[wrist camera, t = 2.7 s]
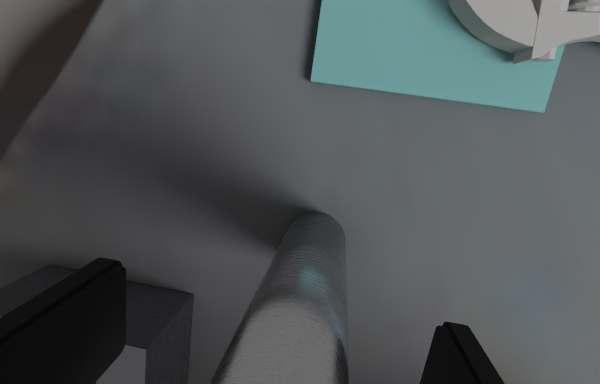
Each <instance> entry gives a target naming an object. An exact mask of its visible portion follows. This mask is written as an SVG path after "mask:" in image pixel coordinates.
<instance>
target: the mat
mask: <svg viewBox="0 0 600 384" xmlns="http://www.w3.org/2000/svg"><path fill="white" fill-rule="evenodd" d="M564 47H565V45H560V46H557V49H556V53H555V58H554V60H553V61H549V62H531V60H529V61H526V62H523V63H518V64H513V58H514V53H509V52H506V51H504V50H501V49H498V48H496V47H494V46H491V45H489V44H487V43H485V42H483V41H482V40H480V39H478V38H477V37H476V36H474V35H473V34H472V33H471V32H470V31H469V30H468V29H467V28H466V27H465V26H464V25H463V24H462V23H461V22H460V20H459V19H458V18H457V16H456V15H455V14H454V12H453V10H452V8H451V6H450V5H449V0H322V3H321V10H320V17H319V24H318V31H317V38H316V45H315V52H314V59H313V66H312V73H311V80H310V81H311V82H312V83H319V84H327V85H334V86H341V87H349V88H356V89H364V90H371V91H378V92H386V93H393V94H401V95H408V96H415V97H423V98H430V99H438V100H445V101H452V102H460V103H467V104H475V105H482V106H489V107H497V108H504V109H511V110H519V111H526V112H534V113H544V111H545V108H546V105H547V102H548V98H549V95H550V92H551V89H552V86H553V82H554V79H555V76H556V73H557V70H558V66H559V63H560V60H561V57H562V54H563V50H564ZM512 64H513V65H512Z"/></svg>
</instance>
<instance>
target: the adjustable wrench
mask: <svg viewBox="0 0 600 384" xmlns="http://www.w3.org/2000/svg"><path fill="white" fill-rule="evenodd" d="M449 5H450V6H451V8H452V10H453V12H454V14H455V15H456V16H457V18H458V19H459V20H460V22H461V23H462V24H463V25H464V26H465V27H466V28H467V29H468V30H469V31H470V32H471V33H472V34H473V35H474V36H476V37H477V38H478V39H480V40H482V41H483V42H485V43H487V44H489V45H491V46H494V47H496V48H498V49H501V50H504V51H506V52H509V53H514V58H513V64H518V63H523V62H526V61H529V60H531V62H549V61H553V60H554V58H555V53H556V49H557V46H560V45H565V44H570V43H575V42H588V41H594V42H600V0H449ZM513 64H512V65H513Z"/></svg>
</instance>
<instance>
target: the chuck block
mask: <svg viewBox="0 0 600 384" xmlns="http://www.w3.org/2000/svg"><path fill="white" fill-rule="evenodd" d="M76 271H77V270H72V269H68V268H63V267H58V266H53V265H48V266H46V267H44V268H42V269H40V270H38V271H35V272H33V273H31V274H29V275H27V276H25V277H23V278H21V279H19V280H17V281H15V282H13V283H11V284H9V285H7V286H5V287H3V288H1V289H0V318H1V317H2V316H4V315H6V314H7V313H9V312H11V311H12V310H14V309H15V308H17V307H19V306H20V305H22V304H24V303H25V302H27V301H29V300H30V299H32V298H33V297H35V296H37V295H38V294H40V293H42V292H43V291H45V290H47V289H48V288H50V287H52V286H53V285H55V284H56V283H58V282H60V281H61V280H63V279H65V278H66V277H68V276H70V275H71V274H73V273H74V272H76ZM192 309H193V294H189V293H184V292H179V291H174V290H169V289H164V288H160V287H155V286H150V285H145V284H140V283H135V282H131V281H126V344H125V347H124V350H123V351H122V353H121V354H120V356H119V357H118V358H117V359H116V360H115V361H114V362H113V363H112V364H111V366H110V367H109V368H108V369H107V370H106V371H105V372H104V373H103V375H102V376H101V377H100V378H99V379H98V380H97V381H96V382H95V384H187V380H188V366H189V352H190V338H191V323H192Z"/></svg>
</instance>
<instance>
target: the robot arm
mask: <svg viewBox="0 0 600 384" xmlns="http://www.w3.org/2000/svg"><path fill="white" fill-rule="evenodd" d="M125 344H126V269H125V268H124V267H122V264H121V262H120V261H116V260H111V259H106V258H98V259H96V260H94V261H92V262H91V263H89V264H88V265H86V266H84V267H83V268H81V269H79V270H78V271H76V272H74V273H73V274H71V275H70V276H68V277H66V278H65V279H63V280H61V281H60V282H58V283H56V284H55V285H53V286H52V287H50V288H48V289H47V290H45V291H43V292H42V293H40V294H38V295H37V296H35V297H33V298H32V299H30V300H29V301H27V302H25V303H24V304H22V305H20V306H19V307H17V308H15V309H14V310H12V311H11V312H9V313H7V314H6V315H4V316H2V317H1V318H0V384H95V382H96V381H97V380H98V379H99V378H100V377H101V376H102V375H103V373H104V372H105V371H106V370H107V369H108V368H109V367H110V366H111V364H112V363H113V362H114V361H115V360H116V359H117V358H118V357H119V356H120V354H121V353H122V351H123V350H124V347H125ZM420 384H504V382H503V380H502V379H501V377H500V376H499V374H498V373H497V371H496V369H495V368H494V366H493V365H492V363H491V361H490V360H489V358H488V357H487V355H486V353H485V352H484V350H483V349H482V347H481V345H480V344H479V342H478V341H477V339H476V337H475V336H474V334H473V333H472V331H471V329H470V328H469V327H468V326H467V325H462V324H457V323H452V322H444V324H443V325H442V326H437V327H436V330H435V333H434V336H433V340H432V343H431V347H430V350H429V354H428V357H427V361H426V364H425V368H424V371H423V374H422V378H421V381H420Z"/></svg>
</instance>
